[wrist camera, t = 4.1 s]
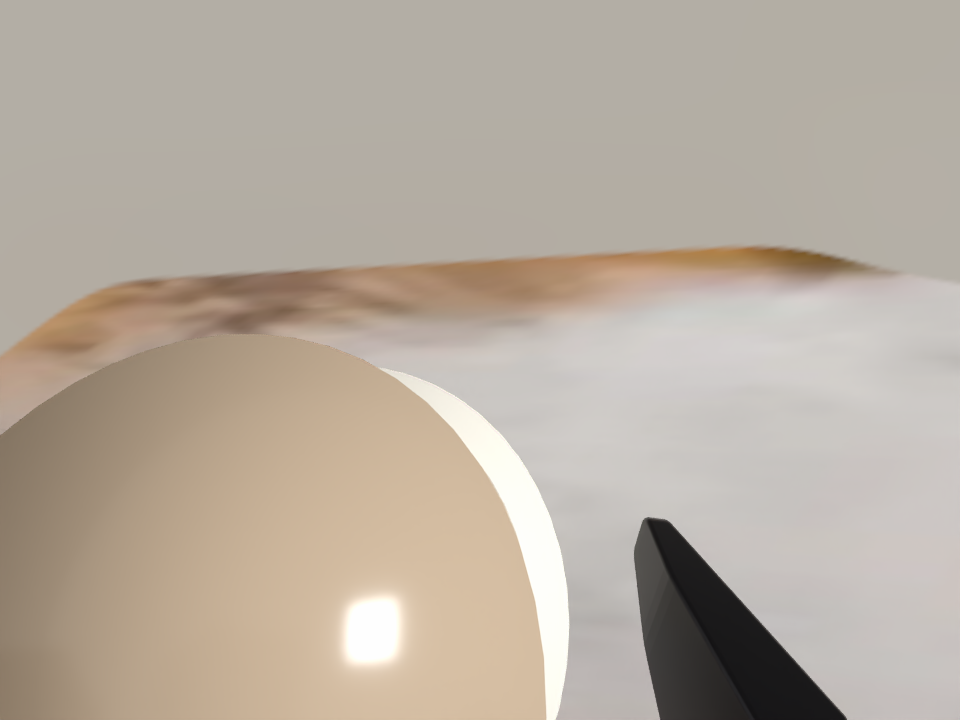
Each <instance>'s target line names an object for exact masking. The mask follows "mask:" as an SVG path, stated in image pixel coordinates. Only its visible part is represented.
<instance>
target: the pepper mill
mask: <svg viewBox="0 0 960 720" xmlns="http://www.w3.org/2000/svg"><path fill="white" fill-rule="evenodd" d="M568 638H569V613H568V596H567V584H566V579H565V573H564V567H563V562H562V556H561V551H560V547H559V544H558V541H557V537H556V534H555V531H554V527H553V524H552V521H551V518H550V515H549V513H548V511H547V508H546V506H545V504H544V502H543V499H542V497H541V495H540V492H539V490H538V488H537V486H536V484H535V483H534V481H533V479H532V478H531V476H530V474H529V473H528V471H527V469H526V468H525V466H524V464H523V463H522V461H521V459H520V458H519V457H518V455H517V454H516V453H515V452H514V450H513V449H512V448H511V447H510V445H509V444H508V443H507V441H506V440H505V439H504V438H503V436H502V435H501V434H500V433H499V432H498V431H497V430H496V429H495V428H494V427H493V426H492V425H491V424H490V423H489V422H488V421H487V420H486V419H485V418H483V417H482V416H481V415H480V414H479V413H478V412H476V411H475V410H474V409H472V408H471V407H470V406H468V405H467V404H466V403H464V402H463V401H462V400H460V399H459V398H458V397H456V396H454V395H452V394H450V393H449V392H447V391H445V390H443V389H441V388H440V387H438V386H436V385H434V384H432V383H429V382H427V381H424V380H422V379H419V378H417V377H414V376H411V375H409V374H405V373H401V372H397V371H393V370H389V369H385V368H378V367H375V366H373V365H372V364H370V363H368V362H366V361H365V360H363V359H360V358H358V357H355V356H353V355H350V354H347V353H345V352H342V351H340V350H337V349H335V348H332V347H330V346H326V345H322V344H318V343H314V342H309V341H305V340H301V339H297V338H291V337H282V336H272V335H263V334H238V335H217V336H211V337H204V338H197V339H190V340H184V341H180V342H176V343H173V344H169V345H165V346H161V347H158V348H154V349H150V350H147V351H144V352H142V353H139V354H136V355H134V356H131V357H129V358H126V359H124V360H121V361H118V362H116V363H113V364H111V365H109V366H107V367H105V368H103V369H101V370H99V371H97V372H95V373H93V374H91V375H89V376H87V377H85V378H83V379H81V380H79V381H77V382H75V383H73V384H72V385H70V386H69V387H67V388H66V389H64V390H63V391H61V392H59V393H58V394H56V395H55V396H53V397H52V398H50V399H48V400H47V401H45V402H44V403H42V404H41V405H39V406H38V407H36V408H35V409H34V410H32V411H31V412H30V413H28V414H27V415H26V416H25V417H23V418H22V419H21V420H20V421H18V422H17V423H16V424H14V425H13V426H12V427H11V428H9V429H8V430H7V431H5V432H4V433H3V434H2V435H0V720H556V717H557V714H558V710H559V707H560V702H561V696H562V691H563V685H564V679H565V673H566V668H567V655H568Z"/></svg>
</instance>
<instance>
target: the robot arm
mask: <svg viewBox="0 0 960 720" xmlns="http://www.w3.org/2000/svg"><path fill="white" fill-rule="evenodd" d="M634 561H635V570H636V579H637V588H638V597H639V605H640V614H641V623H642V632H643V639H644V646H645V651H646V656H647V661H648V666H649V670H650V675H651V680H652V684H653V689H654V693H655V698H656V702H657V707H658V711H659V716H660V720H847V718H846V717H845V715H844V714H843V713H842V712H841V711H840V710H839V709H838V708H837V707H836V705H835V704H834V703H833V702H832V701H831V700H830V699H829V698H828V697H827V696H826V694H825V693H824V692H823V691H822V690H821V689H820V688H819V687H818V686H817V684H816V683H815V682H814V681H813V680H812V679H811V678H810V677H809V676H808V674H807V673H806V672H805V671H804V670H803V669H802V668H801V667H800V666H799V665H798V663H797V662H796V661H795V660H794V659H793V658H792V657H791V656H790V655H789V653H788V652H787V651H786V650H785V649H784V648H783V647H782V646H781V645H780V643H779V642H778V641H777V640H776V639H775V638H774V637H773V636H772V635H771V634H770V632H769V631H768V630H767V629H766V628H765V627H764V626H763V625H762V624H761V622H760V621H759V620H758V619H757V618H756V617H755V616H754V615H753V614H752V612H751V611H750V610H749V609H748V608H747V607H746V606H745V605H744V604H743V603H742V601H741V600H740V599H739V598H738V597H737V596H736V595H735V594H734V593H733V591H732V590H731V589H730V588H729V587H728V586H727V585H726V584H725V583H724V581H723V580H722V579H721V578H720V577H719V576H718V575H717V574H716V573H715V572H714V570H713V569H712V568H711V567H710V566H709V565H708V564H707V563H706V562H705V560H704V559H703V558H702V557H701V556H700V555H699V554H698V553H697V552H696V550H695V549H694V548H693V547H692V546H691V545H690V544H689V543H688V542H687V541H686V539H685V538H684V537H683V536H682V535H681V534H680V533H679V532H678V531H677V529H676V528H675V527H674V526H673V525H672V524H671V523H670V522H669V521H667V520H665V519H658V518H650V517H647V518H645V519H644V520H643V522H642V524H641V528H640V531H639V534H638V538H637V541H636V545H635V549H634Z"/></svg>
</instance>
